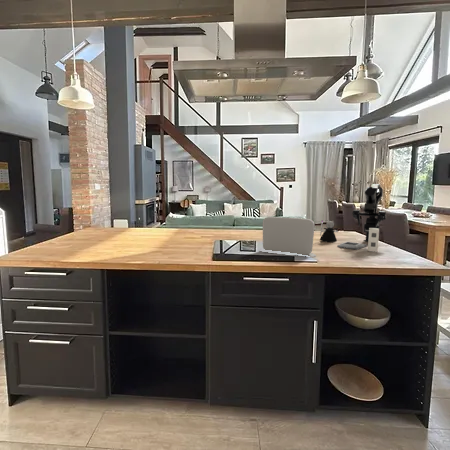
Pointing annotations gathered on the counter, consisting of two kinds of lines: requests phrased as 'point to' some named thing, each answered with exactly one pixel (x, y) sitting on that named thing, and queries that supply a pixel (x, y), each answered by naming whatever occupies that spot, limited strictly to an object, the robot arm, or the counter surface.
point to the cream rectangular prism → (373, 239)
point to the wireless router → (288, 235)
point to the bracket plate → (352, 245)
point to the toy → (328, 232)
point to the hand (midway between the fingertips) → (367, 226)
